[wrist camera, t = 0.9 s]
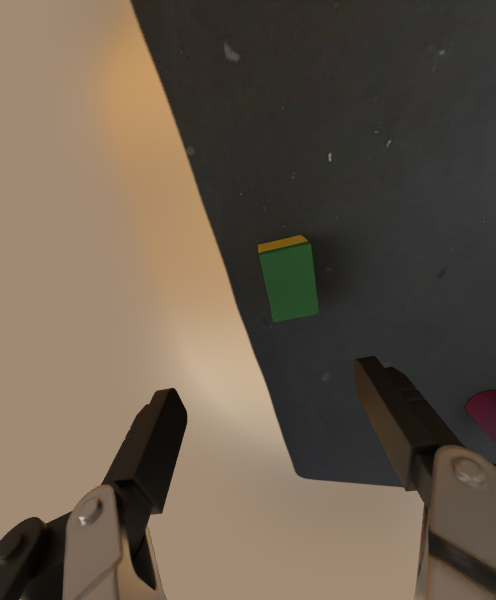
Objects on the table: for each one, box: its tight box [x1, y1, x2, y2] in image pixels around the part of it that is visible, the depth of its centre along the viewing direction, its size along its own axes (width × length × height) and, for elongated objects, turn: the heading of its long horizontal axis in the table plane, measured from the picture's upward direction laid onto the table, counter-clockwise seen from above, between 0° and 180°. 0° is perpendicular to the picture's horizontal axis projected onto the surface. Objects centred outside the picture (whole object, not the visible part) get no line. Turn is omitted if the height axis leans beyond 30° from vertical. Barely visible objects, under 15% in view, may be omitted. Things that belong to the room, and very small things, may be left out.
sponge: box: [258, 235, 319, 322], centre depth 23 cm, size 7×4×4 cm, turn 14°
